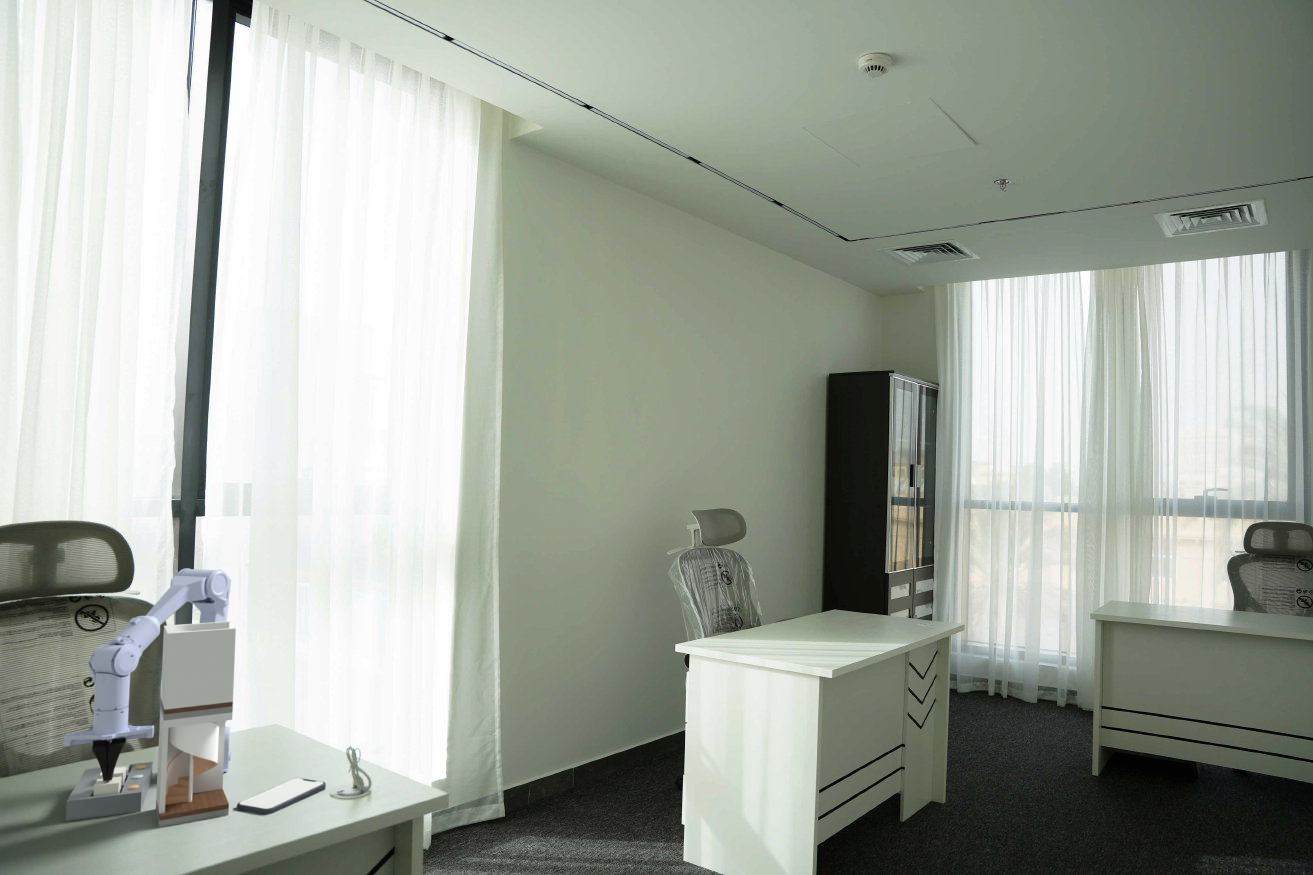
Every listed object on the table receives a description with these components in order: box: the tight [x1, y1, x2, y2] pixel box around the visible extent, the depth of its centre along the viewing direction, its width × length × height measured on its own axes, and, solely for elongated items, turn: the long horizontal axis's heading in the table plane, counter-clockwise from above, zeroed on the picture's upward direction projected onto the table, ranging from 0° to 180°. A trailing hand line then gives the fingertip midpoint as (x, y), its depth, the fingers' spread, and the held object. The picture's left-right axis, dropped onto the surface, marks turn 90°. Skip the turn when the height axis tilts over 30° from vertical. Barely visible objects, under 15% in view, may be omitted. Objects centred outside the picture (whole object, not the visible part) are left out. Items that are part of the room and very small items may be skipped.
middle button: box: [99, 767, 126, 783], centre depth 170 cm, size 4×4×3 cm
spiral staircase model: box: [155, 620, 237, 828], centre depth 164 cm, size 11×11×35 cm
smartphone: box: [236, 777, 327, 816], centre depth 171 cm, size 9×2×16 cm
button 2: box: [115, 763, 131, 773], centre depth 176 cm, size 4×4×3 cm
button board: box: [65, 761, 153, 822], centre depth 170 cm, size 12×20×4 cm, turn 25°
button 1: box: [93, 777, 122, 796], centre depth 164 cm, size 4×4×3 cm
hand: (108, 779), depth 164 cm, fingers closed
